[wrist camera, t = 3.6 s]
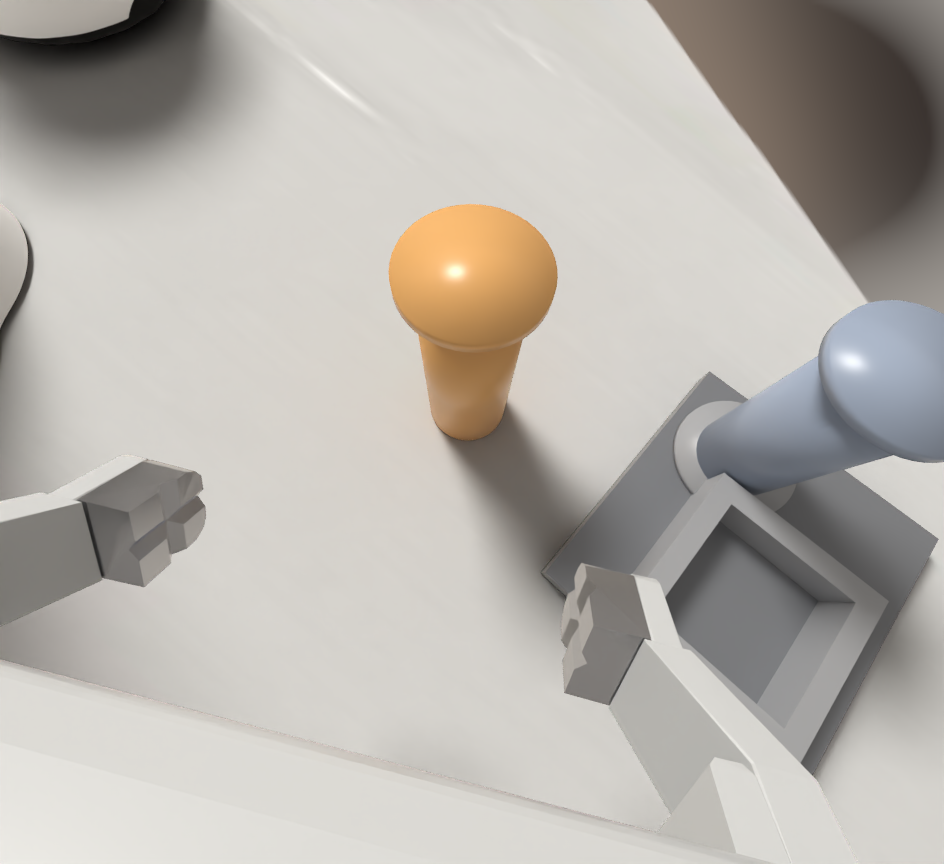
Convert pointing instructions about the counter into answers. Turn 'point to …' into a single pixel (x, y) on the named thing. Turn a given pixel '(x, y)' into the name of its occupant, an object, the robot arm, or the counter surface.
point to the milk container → (70, 19)
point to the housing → (784, 519)
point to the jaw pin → (471, 307)
